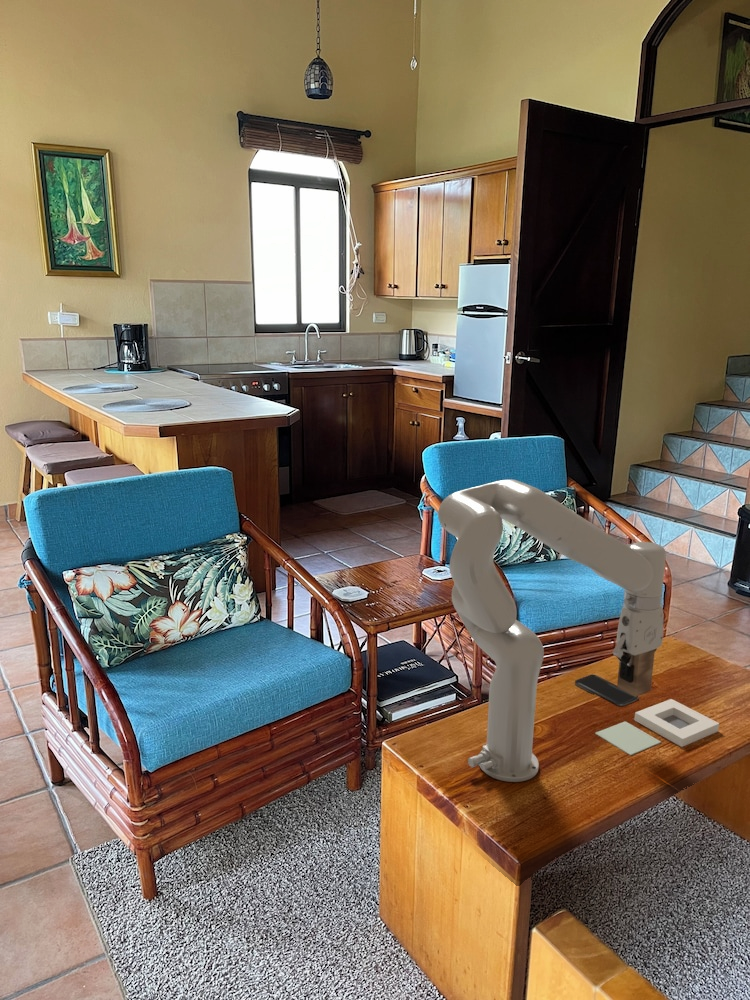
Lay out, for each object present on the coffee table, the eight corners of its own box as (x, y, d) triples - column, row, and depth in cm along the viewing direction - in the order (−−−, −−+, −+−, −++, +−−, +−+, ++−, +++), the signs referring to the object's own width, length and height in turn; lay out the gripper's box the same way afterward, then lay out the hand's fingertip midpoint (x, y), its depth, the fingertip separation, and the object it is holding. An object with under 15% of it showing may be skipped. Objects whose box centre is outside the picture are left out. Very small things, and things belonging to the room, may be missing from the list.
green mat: (630, 757, 160) (630, 754, 160) (595, 735, 168) (595, 732, 168) (660, 744, 165) (661, 741, 165) (625, 723, 173) (625, 721, 173)
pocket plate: (681, 748, 163) (682, 739, 163) (634, 721, 174) (635, 712, 173) (718, 732, 170) (719, 723, 169) (670, 707, 181) (671, 698, 180)
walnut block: (635, 696, 160) (639, 654, 158) (617, 687, 164) (620, 645, 162) (650, 691, 163) (654, 649, 160) (632, 681, 167) (636, 641, 165)
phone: (620, 706, 180) (573, 681, 192) (619, 710, 180) (572, 684, 192) (641, 697, 184) (593, 673, 196) (640, 701, 184) (593, 677, 196)
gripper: (629, 613, 151) (621, 693, 156) (683, 597, 160) (674, 674, 164) (601, 601, 157) (594, 679, 162) (654, 587, 166) (646, 661, 170)
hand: (634, 676), depth 163 cm, fingers closed on walnut block, 5 cm apart
